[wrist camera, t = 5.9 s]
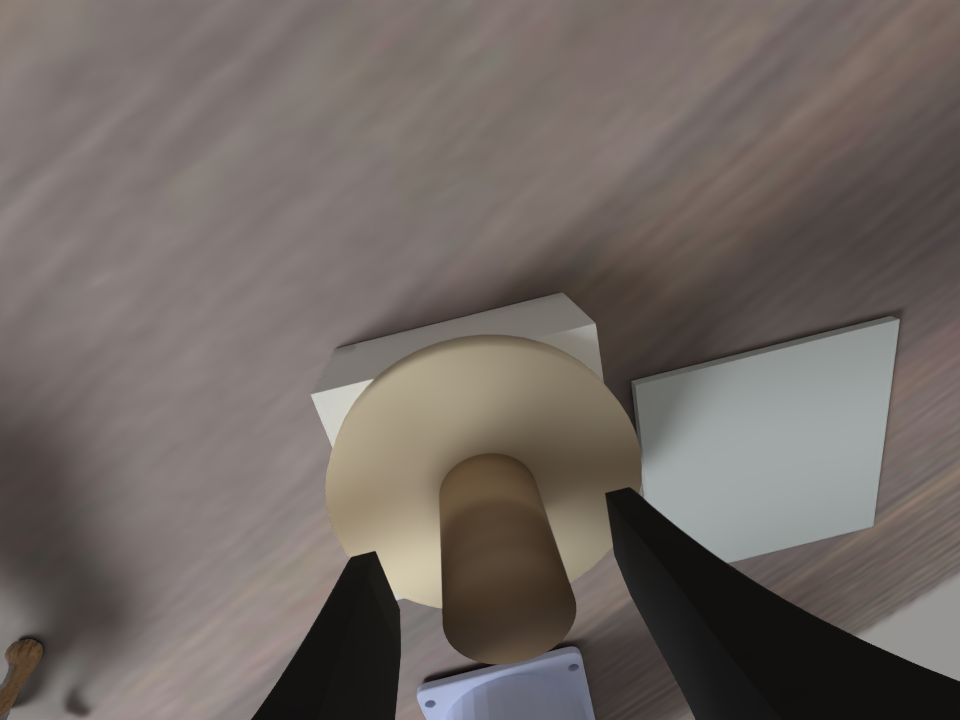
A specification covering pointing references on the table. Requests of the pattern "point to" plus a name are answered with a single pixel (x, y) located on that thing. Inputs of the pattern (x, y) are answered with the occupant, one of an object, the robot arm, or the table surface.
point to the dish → (530, 319)
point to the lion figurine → (18, 671)
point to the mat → (770, 440)
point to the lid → (484, 486)
